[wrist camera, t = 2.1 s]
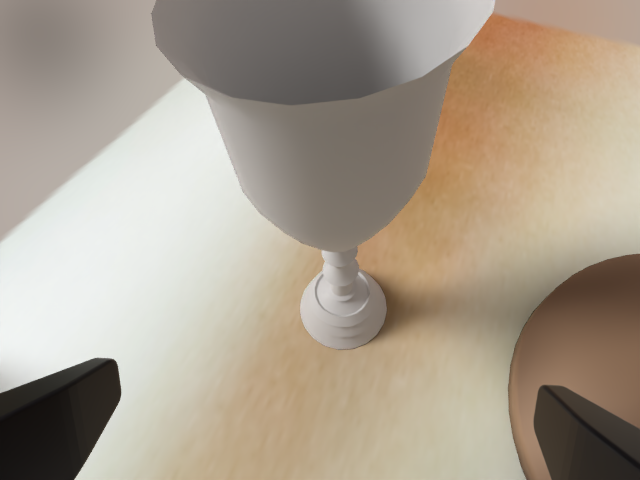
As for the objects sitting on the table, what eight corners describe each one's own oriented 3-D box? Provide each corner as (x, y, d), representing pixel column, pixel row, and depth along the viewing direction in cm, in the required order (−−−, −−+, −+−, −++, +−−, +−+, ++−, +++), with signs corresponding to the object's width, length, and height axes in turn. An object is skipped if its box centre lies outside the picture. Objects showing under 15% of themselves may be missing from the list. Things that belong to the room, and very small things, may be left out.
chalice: (374, 391, 21) (429, 154, 6) (262, 339, 23) (74, 53, 8) (419, 275, 24) (533, -81, 9) (317, 237, 26) (265, -112, 11)
